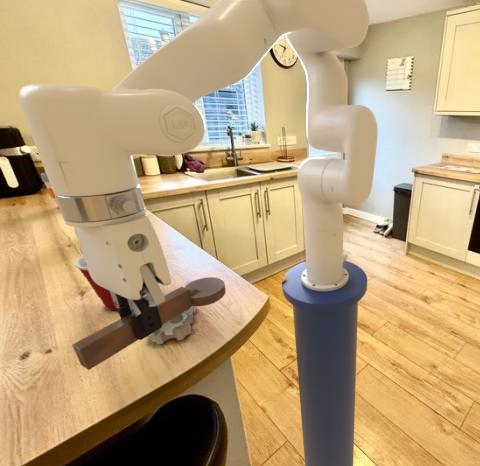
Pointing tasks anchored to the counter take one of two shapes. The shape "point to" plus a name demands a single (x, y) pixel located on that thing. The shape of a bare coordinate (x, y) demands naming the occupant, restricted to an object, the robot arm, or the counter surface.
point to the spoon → (176, 303)
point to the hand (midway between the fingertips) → (144, 329)
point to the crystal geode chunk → (174, 327)
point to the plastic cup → (96, 286)
